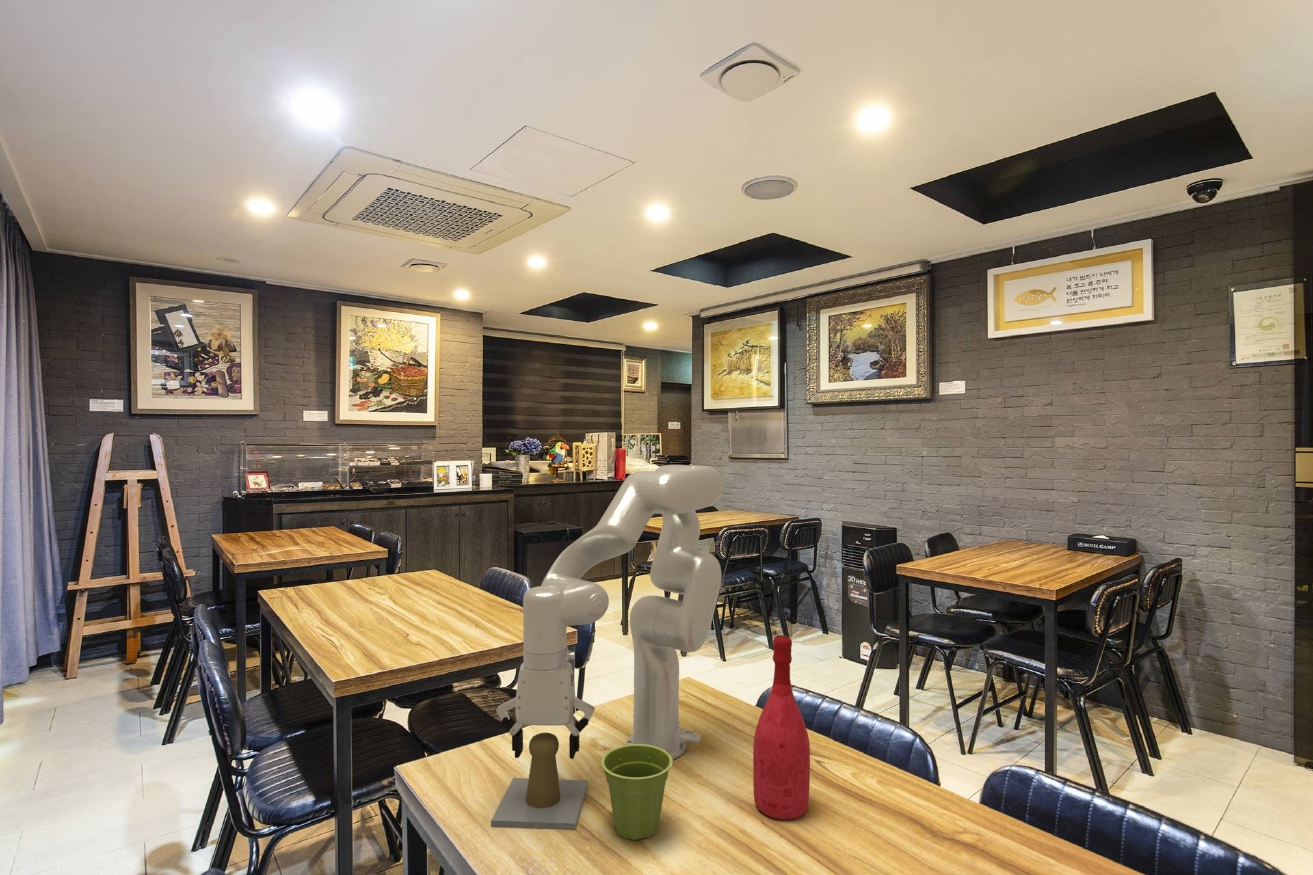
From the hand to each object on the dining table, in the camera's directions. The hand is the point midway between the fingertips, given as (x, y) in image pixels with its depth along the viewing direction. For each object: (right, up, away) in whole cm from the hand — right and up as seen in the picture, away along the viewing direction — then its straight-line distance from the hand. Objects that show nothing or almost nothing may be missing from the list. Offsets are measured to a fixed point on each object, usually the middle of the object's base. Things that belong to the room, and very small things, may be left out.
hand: (545, 754), depth 115 cm
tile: (-1, -9, -1) cm, 9 cm away
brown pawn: (0, -8, -1) cm, 8 cm away
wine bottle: (+41, -9, 0) cm, 42 cm away
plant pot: (+16, -9, -7) cm, 20 cm away
